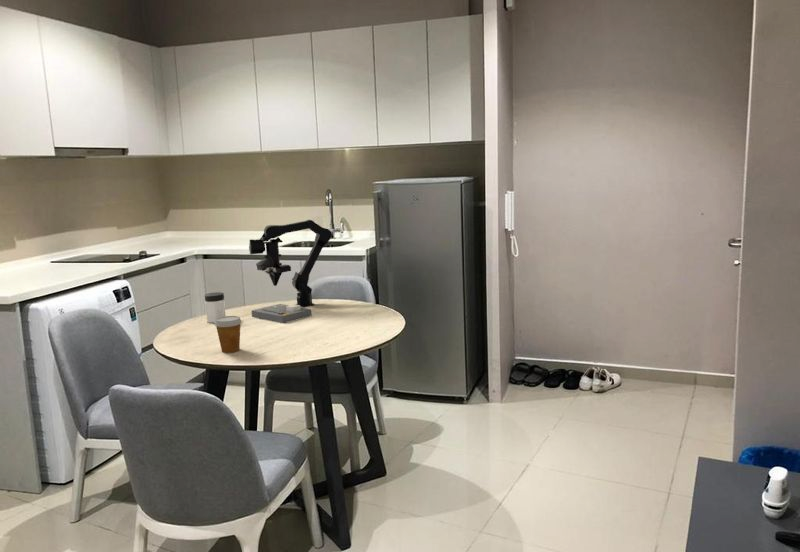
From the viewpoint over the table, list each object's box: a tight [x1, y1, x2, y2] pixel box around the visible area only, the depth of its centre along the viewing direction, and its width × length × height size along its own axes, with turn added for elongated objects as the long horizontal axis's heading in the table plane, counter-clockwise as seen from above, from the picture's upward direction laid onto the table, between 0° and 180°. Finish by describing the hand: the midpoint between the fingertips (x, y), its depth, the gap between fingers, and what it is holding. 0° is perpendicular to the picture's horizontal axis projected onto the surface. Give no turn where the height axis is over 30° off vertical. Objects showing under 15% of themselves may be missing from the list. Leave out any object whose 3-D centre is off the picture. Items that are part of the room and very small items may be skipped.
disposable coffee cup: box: [214, 315, 242, 354], centre depth 239 cm, size 10×10×12 cm
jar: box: [204, 291, 227, 324], centre depth 288 cm, size 9×8×12 cm
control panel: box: [251, 303, 312, 324], centre depth 291 cm, size 16×22×3 cm
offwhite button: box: [286, 304, 302, 312], centre depth 290 cm, size 4×4×2 cm
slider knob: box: [276, 304, 287, 313], centre depth 283 cm, size 3×3×3 cm
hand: (275, 285), depth 306 cm, fingers closed
